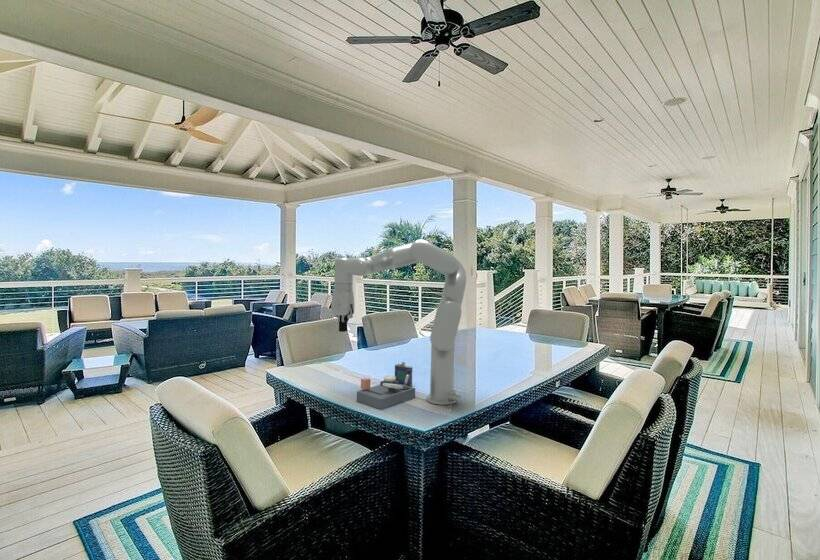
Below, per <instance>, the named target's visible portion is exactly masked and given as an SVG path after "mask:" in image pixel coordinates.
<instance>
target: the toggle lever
mask: <svg viewBox="0 0 820 560" xmlns="http://www.w3.org/2000/svg"><path fill="white" fill-rule="evenodd" d="M406 372H407V375H406V378H405V382H404V387H406V385H407V382H408V378H409V375H410V374H411V373H412V374H413V370H412V371H411V369H408V370H407V371H406Z"/></svg>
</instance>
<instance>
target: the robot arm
mask: <svg viewBox="0 0 820 560" xmlns="http://www.w3.org/2000/svg"><path fill="white" fill-rule="evenodd" d="M418 263H421V264H423V265H425V266H426V267H429V269H432V270H434V271H436V272H437V273H439V274H442V275H444V285H443V290H442V293H441V294H442V295H441V296H440V297H441V298H440V301H439V303H438V305H437V307H436V312H435V315H434V321H433V325H432V329H431V332H430V337H429V340H430V344H431V345H430V347H431V348H430V384H429V385H430V387H429V388H430V390H429V394H427V395H426V401H427V402H428V403H430V404H434V405H439V406H449V405H453V404H456V403H457V402H460V401H461V398H462V396H461V394H457V392H456V391H457V390H456V389H454V387H455V386H454V384H455V383H454V382H455V380H454V379H455V377H454V376H455V347H456V346H455V345H456V344H455V343H456V338H457V333H458V330H459V326H460V321H461V317H462V303H463V300H464V296H465V290H466V286H467V274H466V270H465V268H464V266H463V264H462V262H461V261H460V260H459V259H458V258H457V257H456V256H455V255H453V254H452V253H451V252H448V251H446V250H444V249H442V248H440V247H438V246H437V245H435V244H433V243H431V242H430V241H428V240H426V239H423V238H420V239H416V240H415V241H413V242H409V243H405V244H401V245H398V246H394V247H391V248H389V249H387V250H386V251H383V252H381V253H378V254H374V255H370V256H367V257H361V256H359V257H353V258H352V257H351V258H350V257H336V258H335V259H334V284H333V285H334V287H333V292H332V296H331V306H330V308H331V309H330V311H331V314H333V316H334V317H336V318H337V322H338V331H339V332H340V333H343V332H347V331H348V323H349V320H350V319H353V317H354V314H355V295H354V291H353V289H354V287H353V284H354V283H353V282H354V281H353V280H354V277H353V276H358V277H359V276H360V277H362V276H368V275H372V274H376V273H379V272H384V271H388V270H394V269H398V268H402V267H405V266H409V265H413V264H418Z"/></svg>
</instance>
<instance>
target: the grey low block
mask: <svg viewBox="0 0 820 560" xmlns="http://www.w3.org/2000/svg"><path fill="white" fill-rule="evenodd" d="M379 382H380V383H379V384H378V385H374V386H370V389H367V390H363V389H360V390H356V402H357V403H360V404H363V405H366V406H369V407H372V408H375V409H378V410H381V411H382V410H384V409H387V408H390V407H393V406H396V405H398V404H402V403H405V402H407V401H410V400H412V399H415V398H416V387H413V386H411V387H409V386H406V387H404V385H402V384H399V381H394V382H392V383H389V384H397V385H401V386H403V389H402V388H390V387H386V386H383V385H382V384H383V383H387V382H386V381H384V380H381V381H379Z"/></svg>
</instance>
